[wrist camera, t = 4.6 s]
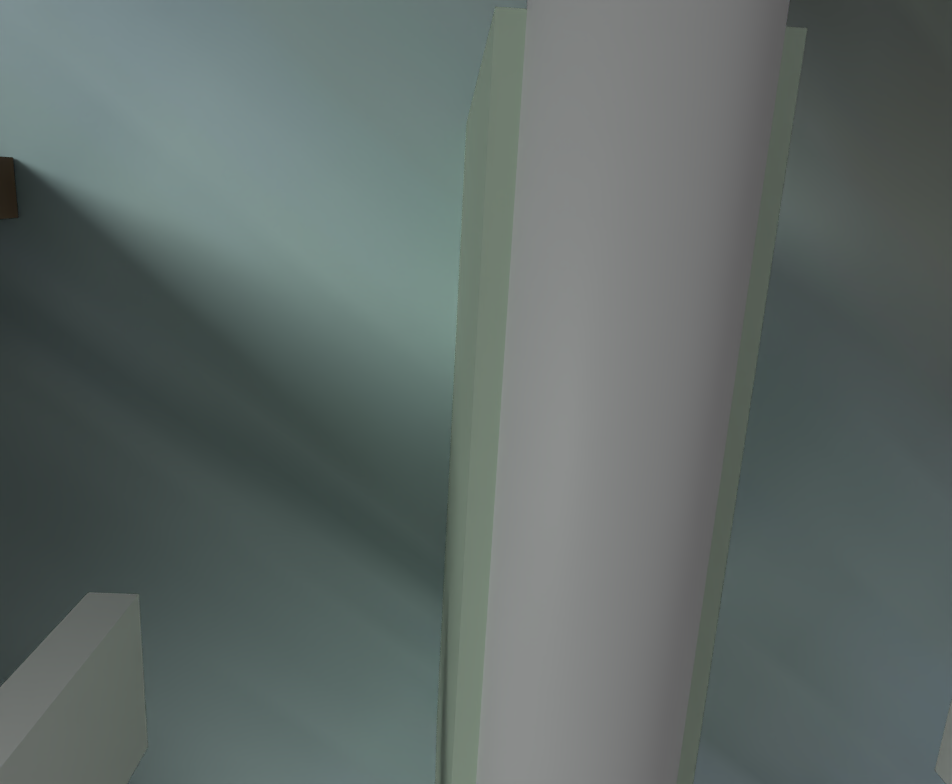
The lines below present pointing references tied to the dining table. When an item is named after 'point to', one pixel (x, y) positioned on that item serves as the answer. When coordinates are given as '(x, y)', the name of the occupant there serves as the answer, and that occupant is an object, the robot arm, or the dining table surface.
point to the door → (604, 377)
